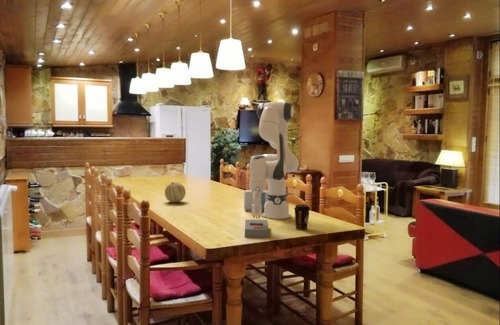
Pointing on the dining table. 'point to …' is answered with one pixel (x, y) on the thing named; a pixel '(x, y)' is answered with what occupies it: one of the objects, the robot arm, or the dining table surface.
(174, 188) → the cantaloupe
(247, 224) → the socket block
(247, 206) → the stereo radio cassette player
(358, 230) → the dining table surface
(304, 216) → the coffee cup
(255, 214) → the plug
